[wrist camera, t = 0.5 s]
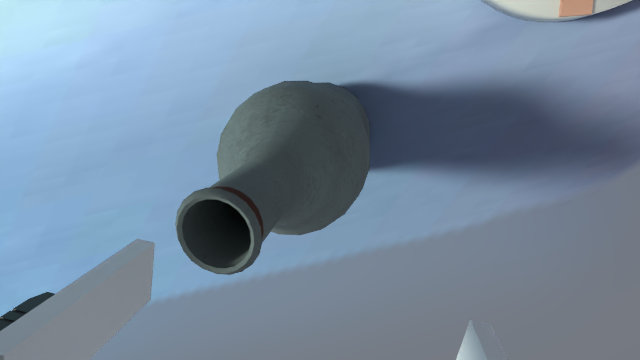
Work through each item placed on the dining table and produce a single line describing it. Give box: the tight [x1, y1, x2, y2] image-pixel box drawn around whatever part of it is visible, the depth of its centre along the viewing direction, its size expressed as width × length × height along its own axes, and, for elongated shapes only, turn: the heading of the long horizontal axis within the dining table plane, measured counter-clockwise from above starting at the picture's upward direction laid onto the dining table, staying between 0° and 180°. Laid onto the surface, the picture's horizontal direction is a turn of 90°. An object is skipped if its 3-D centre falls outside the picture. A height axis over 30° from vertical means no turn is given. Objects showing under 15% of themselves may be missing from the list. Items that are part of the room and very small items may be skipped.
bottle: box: [176, 81, 370, 275], centre depth 25 cm, size 9×9×30 cm
